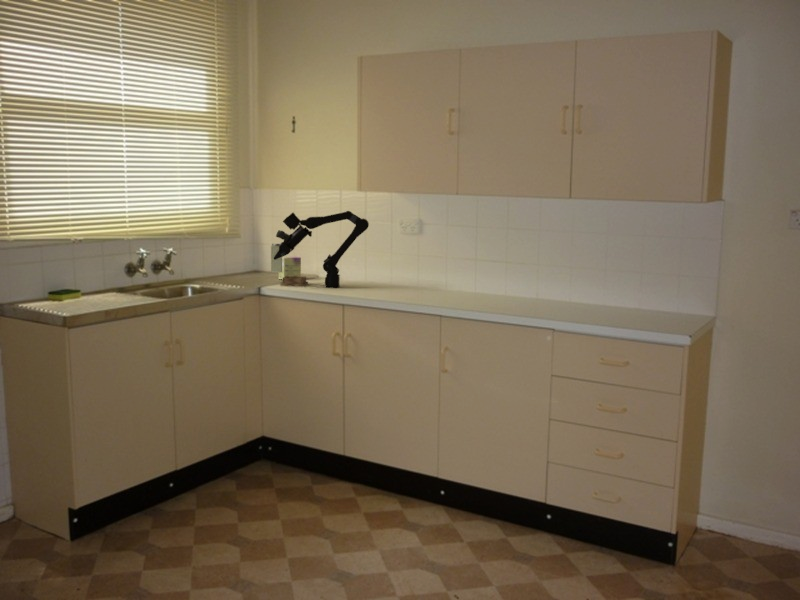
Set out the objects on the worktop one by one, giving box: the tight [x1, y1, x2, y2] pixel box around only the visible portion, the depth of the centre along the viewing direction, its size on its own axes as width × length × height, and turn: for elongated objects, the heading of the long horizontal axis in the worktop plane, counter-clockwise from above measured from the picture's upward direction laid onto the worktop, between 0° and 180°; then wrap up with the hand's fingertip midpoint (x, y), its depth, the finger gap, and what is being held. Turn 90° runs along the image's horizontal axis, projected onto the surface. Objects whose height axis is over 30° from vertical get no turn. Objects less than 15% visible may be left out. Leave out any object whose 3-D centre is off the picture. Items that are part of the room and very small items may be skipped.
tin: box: [270, 243, 282, 273], centre depth 397 cm, size 5×5×14 cm
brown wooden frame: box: [280, 276, 309, 287], centre depth 405 cm, size 12×10×4 cm
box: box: [278, 256, 302, 281], centre depth 422 cm, size 10×6×12 cm, turn 130°
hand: (274, 258), depth 397 cm, fingers closed on tin, 5 cm apart
